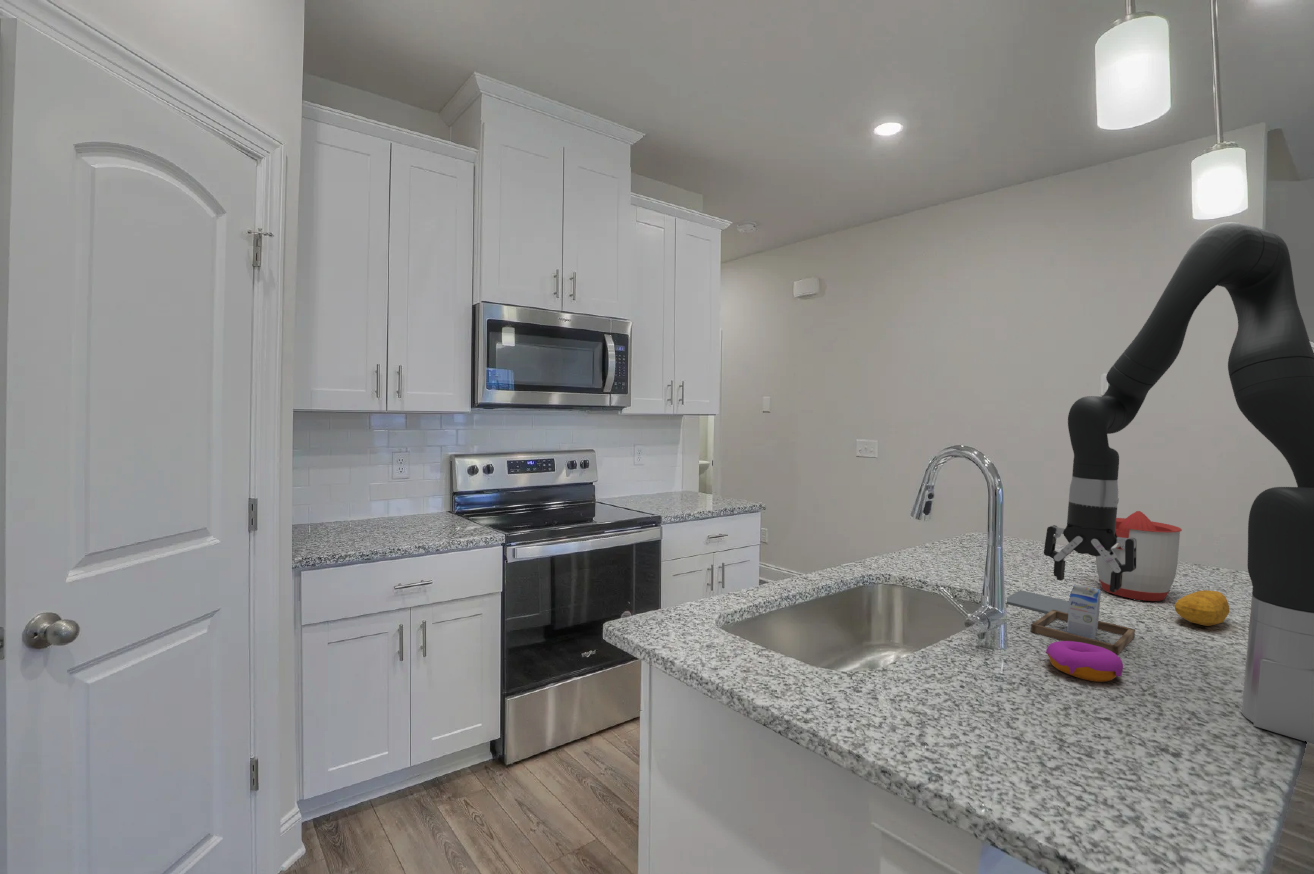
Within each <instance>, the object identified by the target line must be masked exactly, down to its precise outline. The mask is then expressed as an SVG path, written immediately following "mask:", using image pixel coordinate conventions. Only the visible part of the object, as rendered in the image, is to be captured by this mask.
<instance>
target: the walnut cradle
mask: <svg viewBox="0 0 1314 874" xmlns="http://www.w3.org/2000/svg"><path fill="white" fill-rule="evenodd" d="M1055 620H1060V621H1064V622H1067V623H1068V613H1065V612H1061V611H1057V610H1052V611H1050V612H1049V613H1047V614H1046V613H1045V614H1044V615H1043V616H1041V617H1040V618H1038V619H1037V620H1035V621H1034V622H1032V623H1031V624H1030V633H1032V634H1033V633H1034V634H1036V635H1041V636H1044V637H1047V638H1052V639H1056V640H1059V641H1074V642H1081V643H1086V644H1091V645H1095V646H1099V647H1102V648H1105V649H1107V650H1110V651H1112V652H1113V653H1115V654H1116V655H1117V656H1118V655H1119V654H1120V653H1121V652H1122V651H1123V650H1124V649H1125V648H1126V647H1127V646H1128V645H1129V644H1130V642H1131V641H1132V640H1133V639H1134V638H1135V634H1136V629H1135V628H1131V627H1127V626H1122V625H1119V624H1115V623H1109V622H1107V621H1106V622H1105V621H1101V620H1098V629H1097V630H1100V631H1103V632H1108V633H1111V634H1116V635H1119V634H1120V637H1119V638H1118V639H1117V640H1116V641H1115V643H1113V644H1112V643H1108V642H1104V641H1102V640H1097V639H1095V640H1094V639H1090V638H1086V637H1083V636H1079V635H1075V634H1071V633H1067V631H1063V630H1059V629H1056V628H1051V627H1048V625H1049V624H1050V623H1052V622H1054V621H1055ZM1127 644H1128V645H1127Z"/></svg>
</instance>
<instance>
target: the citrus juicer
mask: <svg viewBox="0 0 1314 874" xmlns="http://www.w3.org/2000/svg"><path fill="white" fill-rule="evenodd" d="M1182 530H1183V529H1182V528H1181V527H1179V526H1176V525H1172V524H1167V523H1164V522H1163V523H1162V522H1158V521H1151V520H1150V518H1149V517H1148V516H1147V515H1146V514H1145V513H1144V512H1142V511H1139V510H1137V511H1135V512H1133V513H1132V514H1129V515H1128V516H1127V517H1116V529H1115V532H1116V535H1117V537H1121V538H1131V537H1133V538H1135V539H1136V541H1137V547H1136V569H1135V570H1133V571H1132V572H1123V575H1122V586H1121V588H1120V589H1119V590H1117V591H1116V592H1110V580H1111V572H1112V571H1113V570H1112V568H1111V567H1110V566H1109V564H1108V563H1107V562H1106V561H1105V560H1104V559H1103V557H1102V556H1097V557H1096V556H1095V565H1096V572H1097V575H1098V581H1099V584H1100V586H1101V588H1102V590H1104V591H1105V592H1106V593H1110V594H1112V595H1115V596H1119V597H1124V598H1126V599H1128V598H1129V599H1131V600H1132V599H1135V600H1134V601H1136V600H1143V601H1150V602H1161V601H1163V600H1165V599H1166V597H1168V595H1169V593H1170V591H1171V588H1172V586H1173V584H1174V581H1175V578H1176V574H1177V568H1178V561H1179V560H1178V559H1179V549H1180V548H1179V547H1180V537H1181V532H1182ZM1111 549H1112V550H1113V552H1114V553H1115V554H1116V556H1117V558H1118V560H1119V561H1120V562H1121V564H1125V550H1123V549H1122V548H1121V545H1120V544H1119V543H1116V544H1115V545H1114V546H1113V547H1112V548H1111ZM1109 553H1110V552H1109Z"/></svg>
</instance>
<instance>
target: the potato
mask: <svg viewBox="0 0 1314 874" xmlns="http://www.w3.org/2000/svg"><path fill="white" fill-rule="evenodd" d="M1173 607H1174V610H1175V613H1176V614H1177V615H1179V617H1180V618H1182V619H1184V620H1186V621H1188V622H1189V623H1191V624H1192V623H1193V624H1195V625H1201V626H1205V627H1206V626H1207V627H1211V626H1212V627H1213V626H1215V625H1218V624H1219V625H1220V624H1221V623H1224V621H1225V620H1226V618H1227V617H1228V615H1230V605H1229V602H1228V599H1227V596H1226V595H1224V594H1223V593H1222V592H1220V591H1216V590H1207V589H1206V590H1204V589H1203V590H1202V589H1201V590H1197V591H1194V592H1191V593H1188V594H1186V595H1184V596H1182V597H1180V598H1179V599H1177V601H1176V602H1175V603H1174V606H1173Z"/></svg>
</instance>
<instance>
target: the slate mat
mask: <svg viewBox="0 0 1314 874" xmlns="http://www.w3.org/2000/svg"><path fill="white" fill-rule="evenodd" d="M1006 598H1007V605H1010V606H1013V607H1018V608H1019V607H1020V608H1023V609H1026V610H1030V611H1035V612H1039V613H1043V614H1045V615H1046V614H1047V613H1049V612H1050V611H1052V610H1057V611H1061V612H1065V613H1068V611H1069V600H1065V599H1061V598H1056V597H1052V596H1048V595H1043V594H1041V593H1040V594H1038V593H1035V592H1031V591H1026V590H1022V589H1020V590H1018V591H1016V592H1014V593H1012V594H1010V595H1009V596H1007V597H1006Z"/></svg>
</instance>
